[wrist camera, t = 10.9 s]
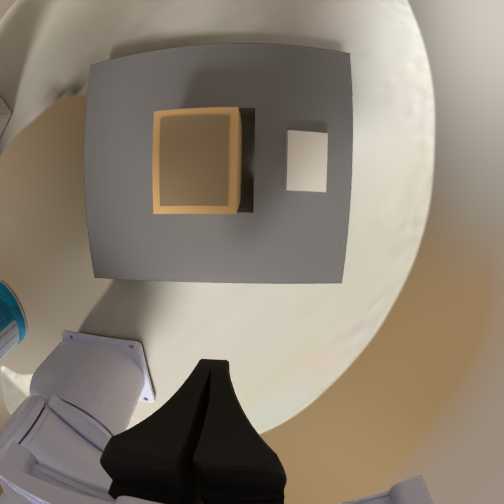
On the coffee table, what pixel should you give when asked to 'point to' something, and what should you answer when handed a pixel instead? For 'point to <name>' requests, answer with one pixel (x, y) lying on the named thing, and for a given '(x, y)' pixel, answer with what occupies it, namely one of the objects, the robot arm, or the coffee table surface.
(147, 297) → the coffee table surface
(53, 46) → the coffee table surface
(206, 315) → the coffee table surface
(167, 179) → the plug
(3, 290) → the beverage bottle
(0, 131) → the coffee box
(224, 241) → the socket plate
